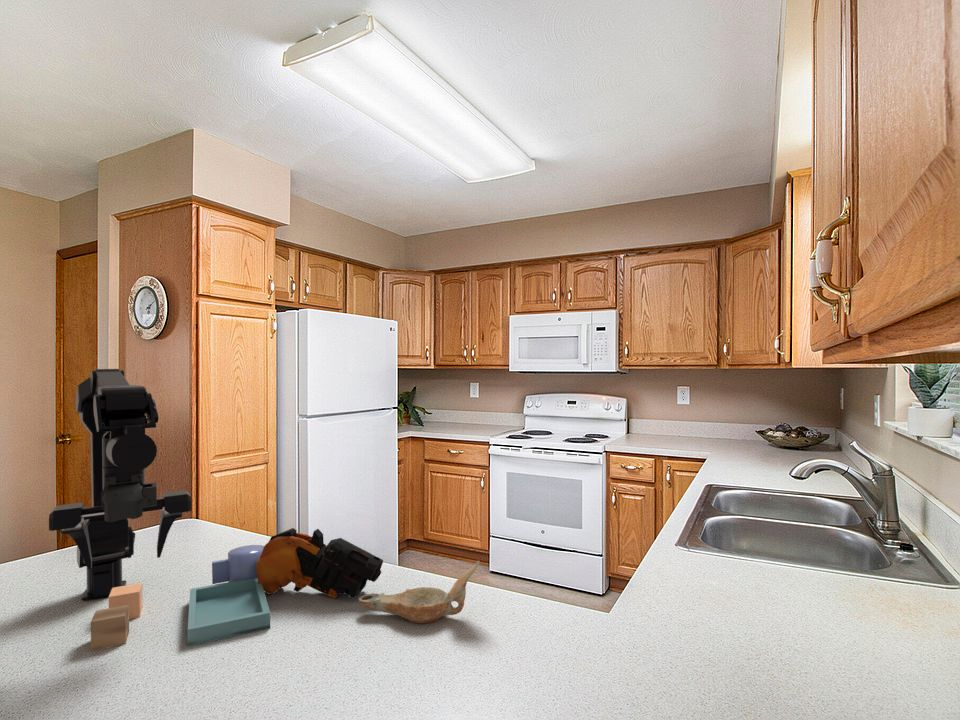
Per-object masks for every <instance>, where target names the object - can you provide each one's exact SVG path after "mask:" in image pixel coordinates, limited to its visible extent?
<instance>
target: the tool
mask: <svg viewBox="0 0 960 720" xmlns="http://www.w3.org/2000/svg"><path fill="white" fill-rule="evenodd" d="M324 542H325V541H324V533H322V531H321V530H320V528H317V529H315V530H313V532H312V536H311V535H308V534H304V533H300V532H297V529H296V528H294V527H292V528H289V529H287V530H285V531H282V532H280V533H277V534H275V535H272V536H271V537H270V539H269V541H268V542H267V543H266V544H265V545H263V546H264V548H263V551H262V553H261V556H260V557H259V559H258V561H257V566H256V568H257V569H256V573H257V579H258V582H259V584H262V585H263V589H264V593H265V594H267V595H268V594H269V595H272V594H276V593H277V592H278V591H279V589H282V588H285V587H287V586H288V585H289V584H291V583H293V584H294V585H295V586H294V587H293V591H294V592H297V593H298V592H300V591H301V590H303V589H304V588H306V587H308V588H309V587H310V588H311V589H314V590H316V591H317V592H320V593H322V594H324V595H326V596H328V597H330V598H333V599H336V598H337V596H338V594H340V595H341V596H343V595H344V594H346V595H348V598H352V599H355V598H356V597H357V596H359V595H360V594H361V592H362V591H363V590H364V589H365V588H366V585H367V582H368V581H369V582H372V583H374V582H377V580H378V579H379V578H380V576H381V574H382V570H381V569H382V566H383V563H384V560H383V559H382V558H381V557H378V556H376V555H374V554H372V553H371V552H368V551H367V550H365V549H363V548H361V547H359V546H357V545H355V544H353V543H351V542H350V541H348V540H346V539H344V538H341V537H339V538H338V537H337V538H335V539H331V540H330V541H329V542H328V543H327V544H325V543H324Z"/></svg>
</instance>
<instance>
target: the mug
mask: <svg viewBox="0 0 960 720" xmlns="http://www.w3.org/2000/svg"><path fill="white" fill-rule="evenodd" d="M264 546H265V545H262V544H250V545H248V544H247V545H243V546H237V547H235V548H233V549H230V550H229V551H228V553H227V558H226V559H221V560H213V561H211V573H212V574H211V576H212V577H211V579H212V580H211V583H212V584H211V585H215V584H221V583H227V582H232V581H238V580H249V579H254V578H257V573H256V569H257V568H256V566H257V561H258V559H259V557H260V556H261V553H262V551H263V548H264Z"/></svg>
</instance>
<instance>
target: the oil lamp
mask: <svg viewBox="0 0 960 720" xmlns="http://www.w3.org/2000/svg"><path fill="white" fill-rule="evenodd" d="M479 565H480V560H477V561H476V562H475V564H473V566H471V567H470V568H468V569H467V570H466V571H465V572H464V573H463V574H462V575H461V576H460V577H458V578H457V580H456V581H455V582H454V584H453V585H452V587H451V588H450V590H449V591H445V590H443V589H441V588H438V587H437V588H436V587H430V586H429V587H428V586H427V587H425V586H423V587H415V588H406V589H405V590H404V591H402V592H398V593H394V594H385V593H375V592H374V593H373V592H372V593H367V594H364V595H362V596H359V597H358V602H359V604H360V605H361V606H362V607H364V608H365V609H368V610H369V611H374V612H383V613H387V614H392V615H395V616H399V617H401V618H404V619H405V620H408V621H410V622H412V623H415V624H428V623H432V622H435V621H438V620H439V619H440V618H441V617H443V616H454V615H457V614H460V613H461V612H462V611H463V608H464V605H465V601H466V600H465V599H466V594H467V592H466V591H467V589H466V588H467V583H468V580H469V579H470V578H471V577H472V575H473V574H474V573H475V571H476V570H477V569H478V567H479ZM453 602H456V603H458V604H457V605H458V606H456V607H454V606H453Z"/></svg>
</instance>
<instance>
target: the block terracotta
mask: <svg viewBox="0 0 960 720" xmlns="http://www.w3.org/2000/svg"><path fill="white" fill-rule="evenodd" d="M125 605H129V620H131V619H137V618H140V617H141V614H142V610H143V582H140V583H139V582H138V583H133V584H128V585H127V584H126V585H125V586H120V587H114V588H112V590H111V593H110V595H109V596H108V608H114V607H119V606H125Z"/></svg>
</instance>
